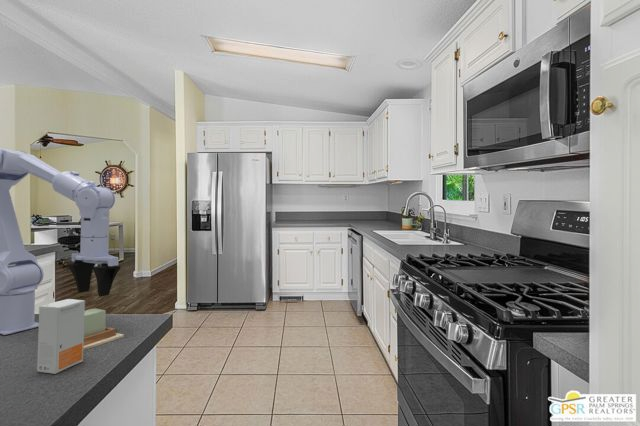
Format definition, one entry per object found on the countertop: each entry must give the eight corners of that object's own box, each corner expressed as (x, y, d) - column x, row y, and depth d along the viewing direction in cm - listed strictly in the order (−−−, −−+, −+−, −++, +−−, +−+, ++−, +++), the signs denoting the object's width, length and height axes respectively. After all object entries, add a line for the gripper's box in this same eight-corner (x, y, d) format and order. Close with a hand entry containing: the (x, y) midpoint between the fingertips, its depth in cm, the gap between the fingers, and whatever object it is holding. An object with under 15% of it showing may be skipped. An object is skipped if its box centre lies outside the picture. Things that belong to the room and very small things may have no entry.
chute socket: (40, 346, 77) (41, 337, 77) (95, 330, 88) (96, 322, 88) (70, 355, 73) (70, 345, 73) (124, 336, 84) (124, 328, 84)
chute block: (66, 342, 78) (67, 314, 78) (94, 334, 84) (94, 308, 84) (78, 345, 77) (78, 317, 77) (105, 336, 82) (105, 310, 82)
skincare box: (56, 375, 64) (57, 307, 64) (36, 372, 65) (37, 306, 65) (84, 361, 70) (85, 299, 70) (66, 359, 71) (67, 298, 71)
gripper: (58, 236, 85) (57, 293, 85) (98, 239, 79) (96, 301, 79) (88, 234, 92) (87, 287, 92) (127, 237, 86) (125, 294, 86)
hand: (93, 293), depth 86 cm, fingers open, 7 cm apart
